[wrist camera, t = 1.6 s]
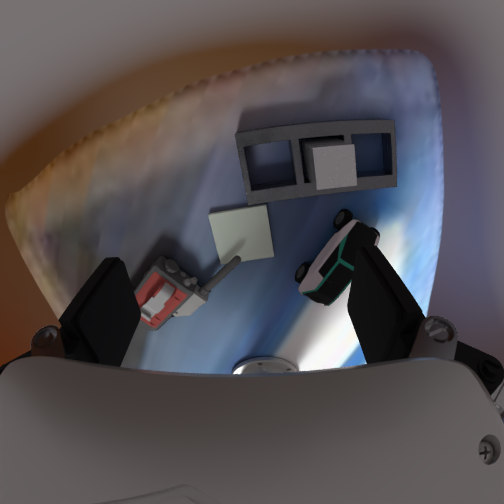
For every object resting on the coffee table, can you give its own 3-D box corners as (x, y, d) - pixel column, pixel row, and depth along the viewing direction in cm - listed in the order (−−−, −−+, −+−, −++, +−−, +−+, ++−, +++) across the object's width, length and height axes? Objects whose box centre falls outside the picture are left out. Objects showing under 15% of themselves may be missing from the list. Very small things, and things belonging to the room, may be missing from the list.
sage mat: (273, 254, 36) (274, 256, 35) (221, 262, 36) (220, 264, 36) (265, 203, 32) (266, 205, 32) (209, 213, 33) (208, 214, 32)
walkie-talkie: (167, 330, 43) (247, 256, 35) (160, 350, 39) (244, 276, 31) (124, 301, 40) (192, 213, 32) (113, 319, 36) (183, 228, 28)
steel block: (336, 170, 30) (356, 185, 24) (304, 173, 31) (317, 189, 24) (333, 137, 28) (354, 144, 22) (299, 140, 29) (312, 147, 23)
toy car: (291, 275, 38) (296, 299, 33) (342, 204, 33) (356, 221, 28) (324, 291, 39) (332, 315, 34) (375, 227, 34) (391, 245, 29)
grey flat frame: (384, 118, 27) (394, 120, 25) (388, 181, 31) (396, 186, 28) (236, 132, 28) (234, 134, 26) (248, 198, 32) (248, 205, 30)
